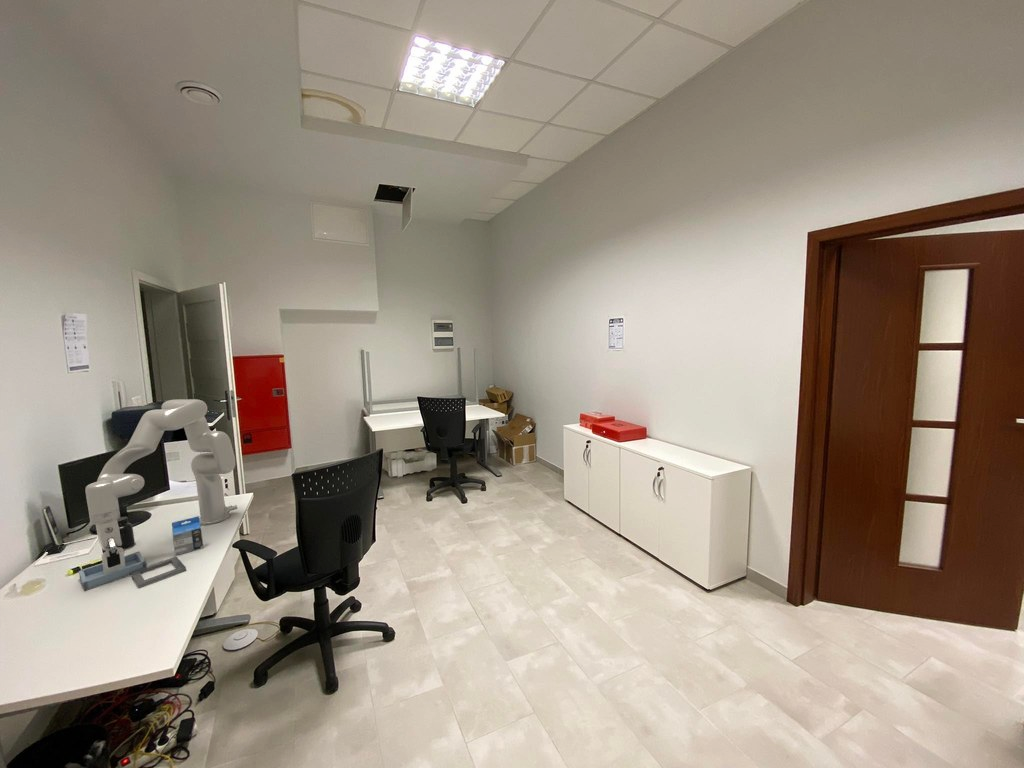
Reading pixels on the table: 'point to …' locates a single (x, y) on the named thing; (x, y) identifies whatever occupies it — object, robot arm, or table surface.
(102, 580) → the tray
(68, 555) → the photo frame
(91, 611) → the table surface
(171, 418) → the robot arm
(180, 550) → the label tape box
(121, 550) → the eye dropper bottle
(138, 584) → the gray square frame
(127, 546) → the supplement bottle
